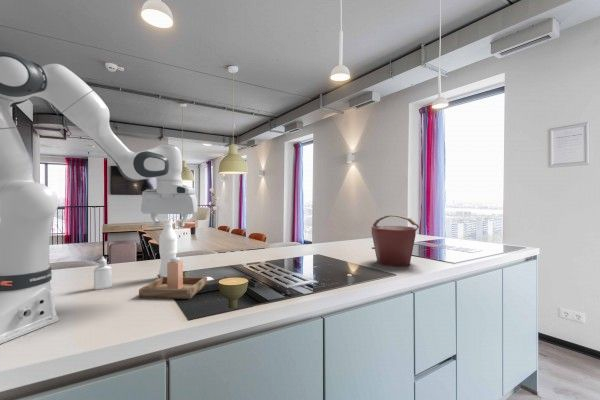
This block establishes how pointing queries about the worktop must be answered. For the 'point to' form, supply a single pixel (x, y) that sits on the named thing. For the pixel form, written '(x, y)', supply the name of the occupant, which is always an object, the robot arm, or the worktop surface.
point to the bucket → (394, 243)
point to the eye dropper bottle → (102, 275)
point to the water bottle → (167, 246)
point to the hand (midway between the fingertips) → (169, 226)
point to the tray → (160, 289)
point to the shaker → (175, 273)
